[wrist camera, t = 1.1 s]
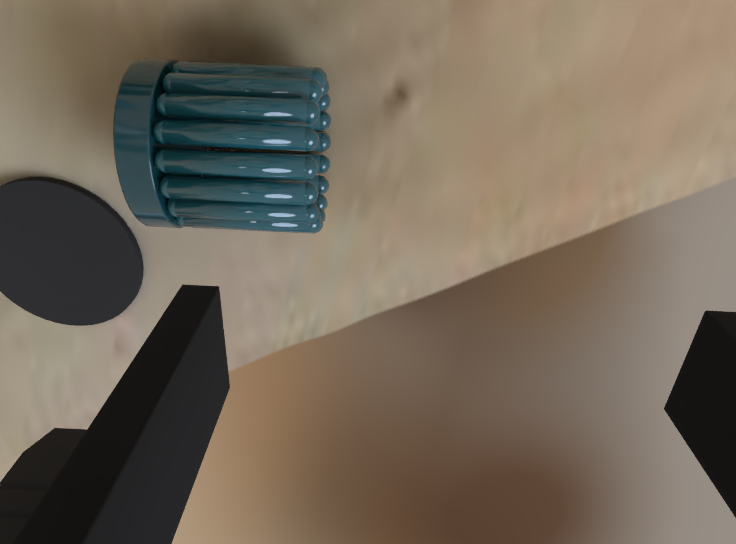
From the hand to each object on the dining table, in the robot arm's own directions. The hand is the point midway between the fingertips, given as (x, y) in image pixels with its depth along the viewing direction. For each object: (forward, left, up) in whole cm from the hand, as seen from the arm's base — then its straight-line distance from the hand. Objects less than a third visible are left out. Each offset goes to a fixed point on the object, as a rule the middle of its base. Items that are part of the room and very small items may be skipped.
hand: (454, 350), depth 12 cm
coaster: (+10, -23, -22) cm, 33 cm away
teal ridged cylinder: (0, -9, -22) cm, 23 cm away
